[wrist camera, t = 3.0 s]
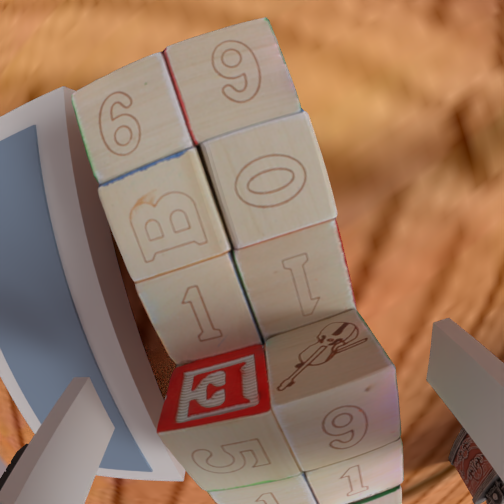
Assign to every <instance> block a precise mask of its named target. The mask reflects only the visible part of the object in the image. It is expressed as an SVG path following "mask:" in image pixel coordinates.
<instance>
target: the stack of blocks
mask: <svg viewBox="0 0 504 504" xmlns="http://www.w3.org/2000/svg"><path fill="white" fill-rule="evenodd" d="M71 97H72V105H73V108H74V112H75V115H76V119H77V123H78V126H79V130H80V133H81V136H82V140H83V143H84V147H85V150H86V154H87V157H88V160H89V163H90V166H91V168H92V171H93V174H94V177H95V178H96V180H97V182H98V183H99V186H98V194H99V198H100V201H101V203H102V206H103V209H104V211H105V214H106V217H107V220H108V222H109V225H110V228H111V231H112V233H113V236H114V238H115V241H116V243H117V245H118V248H119V250H120V253H121V255H122V257H123V260H124V262H125V265H126V267H127V270H128V272H129V274H130V277H131V278H132V280H133V281H134V282H135V287H136V291H137V294H138V297H139V299H140V300H141V302H142V305H143V307H144V309H145V311H146V313H147V315H148V317H149V319H150V321H151V323H152V325H153V327H154V329H155V331H156V333H157V335H158V337H159V339H160V340H161V342H162V344H163V346H164V348H165V350H166V352H167V354H168V355H169V356H170V357H171V359H172V360H173V361H174V362H175V363H176V364H177V366H176V368H175V370H174V371H173V372H172V375H171V378H170V381H169V387H168V390H167V394H166V397H165V399H164V404H163V407H162V411H161V414H160V418H159V421H158V426H157V432H156V433H157V434H158V436H159V437H160V439H161V440H162V441H163V443H164V444H165V445H166V447H167V448H168V449H169V450H170V452H171V453H172V454H173V456H174V457H175V458H176V459H177V461H178V462H179V463H180V464H181V465H182V466H183V468H184V469H185V470H186V471H187V473H188V474H189V475H190V476H191V477H192V479H193V480H194V481H195V482H196V483H197V484H198V485H199V486H200V488H201V489H203V490H205V491H207V492H208V494H209V495H210V496H211V498H212V499H213V500H214V502H215V503H216V504H402V489H401V486H400V484H401V483H402V482H403V480H404V478H403V477H404V471H403V444H402V440H401V437H400V436H401V422H400V409H399V396H398V387H397V379H396V368H395V366H394V364H393V363H392V361H391V360H390V358H389V357H388V355H387V354H386V352H385V351H384V349H383V348H382V346H381V345H380V343H379V342H378V340H377V339H376V337H375V336H374V334H373V333H372V331H371V330H370V328H369V327H368V325H367V324H366V322H365V321H364V319H363V318H362V317H361V315H360V314H359V313H358V311H357V310H356V302H355V298H354V293H353V288H352V283H351V279H350V274H349V270H348V266H347V261H346V257H345V253H344V249H343V244H342V240H341V236H340V232H339V228H338V225H337V221H336V217H337V209H336V205H335V201H334V197H333V193H332V189H331V185H330V182H329V178H328V174H327V171H326V167H325V164H324V161H323V157H322V154H321V151H320V148H319V145H318V142H317V138H316V135H315V132H314V129H313V126H312V123H311V120H310V118H309V115H308V113H307V112H306V111H304V110H303V109H302V108H301V105H300V102H299V99H298V95H297V92H296V89H295V87H294V84H293V81H292V78H291V76H290V73H289V70H288V68H287V65H286V62H285V60H284V57H283V54H282V52H281V49H280V47H279V45H278V42H277V39H276V36H275V34H274V32H273V29H272V27H271V25H270V22H269V20H268V19H267V18H266V17H265V18H261V19H256V20H252V21H248V22H244V23H240V24H236V25H232V26H229V27H225V28H222V29H219V30H215V31H212V32H209V33H206V34H202V35H199V36H196V37H193V38H190V39H187V40H184V41H181V42H178V43H176V44H173V45H170V46H167V47H166V48H165V50H164V51H163V52H159V53H155V54H152V55H150V56H147V57H145V58H142V59H140V60H137V61H135V62H133V63H131V64H128V65H126V66H124V67H122V68H120V69H118V70H116V71H114V72H112V73H110V74H108V75H106V76H104V77H102V78H100V79H97V80H96V81H94V82H92V83H90V84H88V85H86V86H84V87H83V88H81V89H79V90H77V91H76V92H74V93H72V96H71Z"/></svg>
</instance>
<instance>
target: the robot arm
mask: <svg viewBox="0 0 504 504" xmlns="http://www.w3.org/2000/svg"><path fill="white" fill-rule="evenodd" d="M426 380H427V381H428V383H429V384H430V385H431V386H432V388H433V389H434V390H435V391H436V393H437V394H438V395H439V396H440V398H441V399H442V400H443V401H444V403H445V404H446V405H447V407H448V408H449V409H450V410H451V412H452V413H453V414H454V416H455V417H456V418H457V420H458V421H459V422H460V424H461V425H462V426H463V427H464V429H465V430H466V431H467V433H468V434H469V435H470V437H471V438H472V439H473V441H474V442H475V444H476V445H477V446H478V448H479V449H480V450H481V452H482V453H483V454H484V456H485V457H486V459H487V460H488V461H489V463H490V464H491V466H492V467H493V468H494V470H495V471H496V473H497V474H498V475H499V477H500V478H501V480H502V481H503V483H504V363H503V362H502V361H501V360H499V359H498V358H497V357H496V356H495V355H494V354H492V353H491V352H490V351H489V350H488V349H487V348H485V347H484V346H483V345H482V344H481V343H479V342H478V341H477V340H476V339H475V338H473V337H472V336H471V335H470V334H468V333H467V332H466V331H465V330H464V329H462V328H461V327H460V326H459V325H457V324H456V323H455V322H454V321H452V320H451V319H450V318H446V319H443V320H440V321H437V322H434V323H433V330H432V340H431V349H430V357H429V365H428V372H427V379H426ZM114 429H115V427H114V425H113V423H112V422H111V420H110V418H109V416H108V414H107V412H106V410H105V408H104V406H103V404H102V402H101V400H100V398H99V396H98V394H97V392H96V390H95V388H94V386H93V384H92V382H91V379H90V377H74V378H73V379H72V381H71V382H70V384H69V385H68V386H67V388H66V389H65V391H64V392H63V394H62V395H61V396H60V398H59V399H58V401H57V402H56V404H55V405H54V407H53V408H52V410H51V411H50V413H49V414H48V416H47V417H46V419H45V420H44V422H43V423H42V425H41V426H40V428H39V429H38V431H37V432H36V434H35V435H34V437H33V438H32V440H31V441H30V443H29V444H26V445H24V446H23V447H22V448H21V449H20V450H19V451H17V453H16V454H15V456H14V457H13V459H12V460H11V464H9V465H8V467H7V468H6V472H4V473H3V475H2V477H1V478H0V504H85V501H86V498H87V496H88V493H89V490H90V488H91V485H92V483H93V480H94V478H95V475H96V473H97V470H98V468H99V465H100V463H101V460H102V458H103V455H104V453H105V451H106V448H107V446H108V443H109V441H110V439H111V436H112V434H113V432H114Z"/></svg>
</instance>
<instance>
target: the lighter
mask: <svg viewBox="0 0 504 504" xmlns="http://www.w3.org/2000/svg"><path fill="white" fill-rule="evenodd" d="M449 461H450V463H451V464H452V465H454V466H455V467H456V469H457V471H458V472H459V474H460V476H461V478H462V479H463V481H464V483H465V484H466V486H467V488H468V490H469V491H470V493H471V495H472V497H473V499H472V500H473V502H474V504H480V503H482V502H484V501H485V500H486V503H487V504H503V503H504V483H503V481H502V480H501V478H500V477H499V475H498V474H497V473H496V471H495V470H494V468H493V467H492V466H491V464H490V463H489V461H488V460H487V459H486V457H485V456H484V454H483V453H482V452H481V450H480V449H479V448H478V446H477V445H476V444H475V442H474V441H473V439H472V438H471V437H470V435H469V434H468V433H467V431H466V430H465V429H464V427H463V428H462V429H461V431H460V433H459V435H458V436H457V438H456V440H455V442H454V444H453V447H452V449H451V452H450V455H449Z"/></svg>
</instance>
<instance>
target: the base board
mask: <svg viewBox="0 0 504 504" xmlns="http://www.w3.org/2000/svg"><path fill="white" fill-rule="evenodd" d="M74 92H76V91H75V90H72V89H70V88H67V87H64V86H63V87H60V88H58V89H56V90H53V91H51V92H49V93H47V94H45V95H42V96H40V97H38V98H36V99H34V100H32V101H30V102H28V103H26V104H24V105H22V106H20V107H18V108H16V109H14V110H12V111H10V112H9V113H7V114H5V115H3V116H1V117H0V377H1V378H2V380H3V382H4V384H5V386H6V388H7V390H8V391H9V393H10V395H11V397H12V398H13V400H14V402H15V404H16V405H17V407H18V409H19V410H20V412H21V414H22V415H23V417H24V418H25V420H26V422H27V423H28V425H29V426H30V428H31V429H32V431H33V432H34V434H36V432H37V431H38V429H39V428H40V426H41V425H42V423H43V422H44V420H45V419H46V417H47V416H48V414H49V413H50V411H51V410H52V408H53V407H54V405H55V404H56V402H57V401H58V399H59V398H60V396H61V395H62V394H63V392H64V391H65V389H66V388H67V386H68V385H69V384H70V382H71V381H72V379H73V378H74V377H90V379H91V382H92V384H93V386H94V388H95V390H96V392H97V394H98V396H99V398H100V400H101V402H102V404H103V406H104V408H105V410H106V412H107V414H108V416H109V418H110V420H111V422H112V423H113V425H114V427H115V429H114V432H113V434H112V436H111V439H110V441H109V443H108V446H107V448H106V451H105V453H104V455H103V458H102V460H101V463H100V465H99V468H98V470H97V473H96V475H99V476H106V477H115V478H125V479H138V480H155V481H184V475H185V469H184V468H183V466H182V465H181V464H180V463H179V462H178V461H177V459H176V458H175V457H174V456H173V454H172V453H171V452H170V450H169V449H168V448H167V447H166V445H165V444H164V443H163V441H162V440H161V439H160V437H159V436H158V434H157V433H156V432H157V426H158V421H159V418H160V414H161V411H162V407H163V404H164V399H163V397H162V394H161V392H160V389H159V387H158V384H157V382H156V379H155V376H154V374H153V371H152V369H151V366H150V363H149V360H148V358H147V355H146V352H145V349H144V346H143V343H142V341H141V338H140V335H139V332H138V329H137V326H136V323H135V319H134V316H133V313H132V310H131V307H130V303H129V300H128V297H127V293H126V290H125V286H124V283H123V279H122V276H121V272H120V268H119V265H118V261H117V257H116V253H115V249H114V245H113V241H112V237H111V233H110V228H109V224H108V220H107V217H106V214H105V211H104V209H103V206H102V203H101V201H100V198H99V194H98V186H99V183H98V182H97V180H96V178H95V177H94V174H93V171H92V168H91V166H90V163H89V160H88V157H87V154H86V150H85V147H84V143H83V140H82V136H81V133H80V130H79V126H78V123H77V119H76V115H75V112H74V108H73V105H72V97H71V96H72V93H74Z"/></svg>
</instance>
